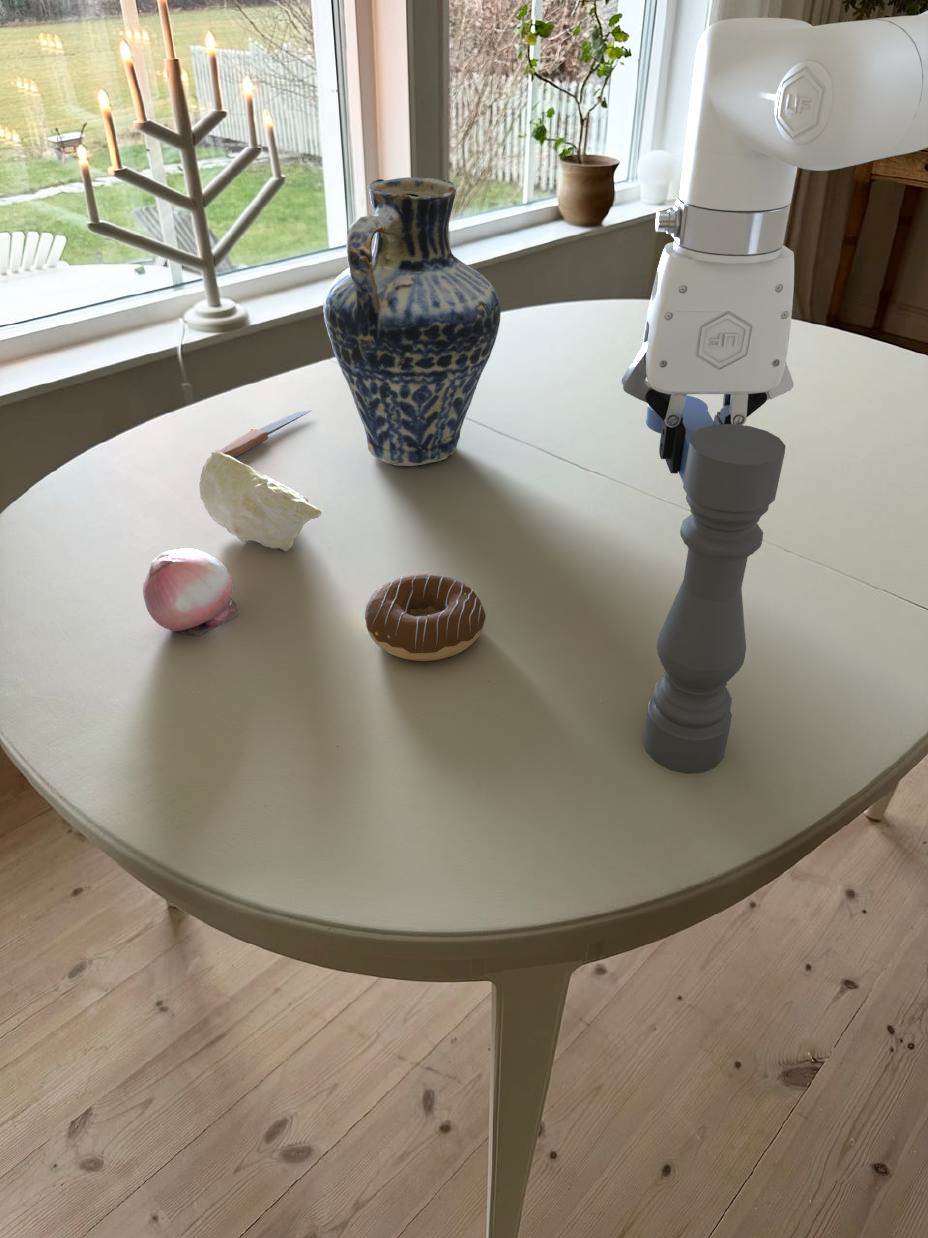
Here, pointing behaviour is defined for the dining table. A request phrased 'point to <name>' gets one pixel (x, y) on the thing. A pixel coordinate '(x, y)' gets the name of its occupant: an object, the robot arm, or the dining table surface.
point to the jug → (410, 323)
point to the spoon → (692, 419)
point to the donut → (424, 617)
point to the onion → (188, 592)
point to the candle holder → (711, 594)
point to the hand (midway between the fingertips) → (694, 463)
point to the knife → (257, 436)
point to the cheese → (252, 503)
